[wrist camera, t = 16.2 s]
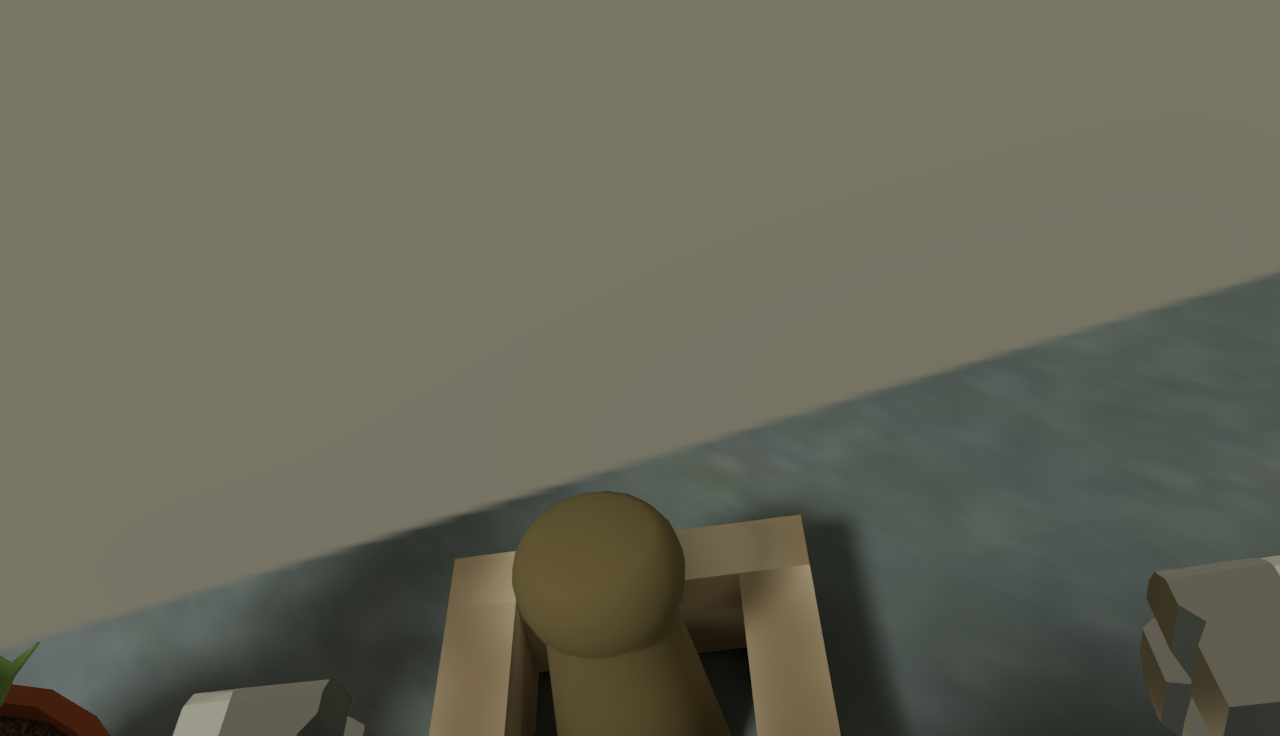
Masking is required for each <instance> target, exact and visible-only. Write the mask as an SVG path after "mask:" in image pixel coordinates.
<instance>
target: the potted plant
mask: <svg viewBox="0 0 1280 736" xmlns="http://www.w3.org/2000/svg"><path fill="white" fill-rule="evenodd" d="M39 643H40V642H37V643H36V644H35V645H33V646H32V647H31V648H29V649H28V650H27V651H26V652H24V653H23V654H22V655H20V656H19V657H18V658H17V659H15V660H14V661H13V662H10V661H8V660H6V659H5V658H3V657H1V656H0V736H110V735H109V733H108V732H107V730H106V729H105V727H104V726H103V724H102V723H101V722H100V720H99V719H98V717H97V716H95V715H93V714H92V713H90V712H88V711H87V710H85V709H83V708H82V707H80V706H78V705H77V704H75V703H73V702H72V701H70V700H68V699H67V698H65V697H63V696H62V695H60V694H59V693H57V692H55V691H54V690H51V689H43V688H36V687H28V686H20V685H12V682H13V680H14V678H15V676H16V674H17V673H18V672H19V670H20V669H21V668H22V666H23V665H24V664H25V662H26V661H27V659H28V658H29V657H30V655H31V654H32V653H33V651H34V650H35V649H36V647H37V646H38V645H39Z"/></svg>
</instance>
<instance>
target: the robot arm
mask: <svg viewBox="0 0 1280 736" xmlns="http://www.w3.org/2000/svg"><path fill="white" fill-rule="evenodd" d="M1146 598H1147V601H1148V603H1149V605H1150V607H1151V609H1152V612H1153V614H1154V616H1155V617H1154V618H1153V619H1152V620H1151V621H1150V622H1149V623H1148V624H1147V625H1146V626H1145V627H1144V628H1143V629H1142V642H1141V657H1142V665H1143V672H1144V679H1145V682H1146V685H1147V689H1148V692H1149V695H1150V699H1151V701H1152V704H1153V706H1154V709H1155V711H1156V713H1157V716H1158V718H1159V721H1160V723H1161V724H1162V725H1164V726H1165V727H1167V728H1168V729H1169V730H1171V731H1172V732H1174V733H1175V734H1176V735H1178V736H1280V555H1279V556H1271V557H1263V558H1261V559H1258V558H1248V559H1241V560H1234V561H1227V562H1220V563H1213V564H1206V565H1199V566H1192V567H1185V568H1178V569H1171V570H1164V571H1156V572H1154V573H1153V575H1152V576H1151V578H1150V579H1149V583H1148V590H1147V597H1146ZM350 702H351V697H350V696H349V694H348V692H347V690H346V689H345V687H344V685H343V684H342V682H341V680H340V679H327V680H317V681H307V682H297V683H287V684H277V685H268V686H258V687H248V688H240V689H231V690H222V691H214V692H205V693H196V694H193V696H192V697H191V698H190V699H189V700H188V702H187V703H186V704H185V705H184V707H183V708H182V710H181V713H180V716H179V719H178V721H177V724H176V727H175V730H174V733H173V736H370V734H369V732H368V730H367V728H366V726H365V725H364V724H362V723H360V722H358V721H357V720H355V719H353V718H351V717H349V716H348V712H349V707H350Z"/></svg>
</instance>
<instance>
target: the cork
mask: <svg viewBox="0 0 1280 736" xmlns="http://www.w3.org/2000/svg"><path fill="white" fill-rule="evenodd" d="M512 586H513V590H514V594H515V598H516V602H517V605H518V608H519V611H520V613H521V616H522V617H523V619H524V620H525V621H526V622H527V624H528V625H529V626H530V627H531V629H532V630H533V631H534V632H535V633H536V635H537V636H538V637H539V638H540V640H541V641H542V642H543V643H544V644H546V645H547V653H548V662H549V670H550V678H551V686H552V695H553V703H554V711H555V719H556V728H557V736H732V735H731V732H730V730H729V728H728V725H727V723H726V720H725V718H724V715H723V713H722V710H721V708H720V706H719V703H718V701H717V699H716V696H715V694H714V691H713V689H712V687H711V684H710V682H709V679H708V677H707V675H706V672H705V670H704V667H703V665H702V663H701V660H700V658H699V655H698V653H697V651H696V648H695V646H694V644H693V641H692V639H691V636H690V634H689V632H688V629H687V627H686V624H685V622H684V620H683V617H682V615H681V612H680V610H679V605H680V603H681V601H682V598H683V593H684V587H685V559H684V553H683V549H682V547H681V544H680V542H679V540H678V537H677V535H676V533H675V531H674V529H673V528H672V526H671V524H670V522H669V521H668V520H667V519H666V518H665V517H664V516H663V515H662V514H661V513H660V512H658V511H657V510H656V509H655V508H654V507H653V506H651V505H650V504H648V503H647V502H645V501H643V500H640V499H638V498H636V497H634V496H631V495H629V494H624V493H617V492H610V491H604V492H592V493H584V494H581V495H578V496H575V497H571V498H568V499H565V500H563V501H561V502H559V503H558V504H556V505H554V506H552V507H550V508H549V509H547V510H545V511H544V512H543V513H542V514H541V515H540V516H539V517H538V518H537V519H536V520H534V521H533V522H532V523H531V524H530V526H529V527H528V529H527V531H526V533H525V534H524V536H523V538H522V539H521V541H520V543H519V545H518V547H517V549H516V551H515V557H514V562H513V568H512Z"/></svg>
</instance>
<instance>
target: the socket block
mask: <svg viewBox="0 0 1280 736" xmlns="http://www.w3.org/2000/svg"><path fill="white" fill-rule="evenodd" d="M675 533H676V535H677V537H678V540H679V542H680V544H681V547H682V549H683V553H684V559H685V587H684V593H683V598H682V601H681V603H680V605H679V610H680V612H681V615H682V617H683V620H684V622H685V624H686V627H687V629H688V632H689V634H690V636H691V639H692V641H693V644H694V646H695V648H696V651H697V653H706V652H715V651H723V650H731V649H740V648H747V650H748V659H749V667H750V676H751V685H752V693H753V702H754V711H755V719H756V728H757V736H841V734H840V728H839V723H838V717H837V712H836V706H835V701H834V695H833V690H832V684H831V679H830V673H829V668H828V662H827V657H826V651H825V646H824V640H823V635H822V629H821V624H820V618H819V613H818V607H817V602H816V596H815V591H814V585H813V580H812V574H811V569H810V563H809V558H808V552H807V547H806V541H805V536H804V530H803V525H802V519H801V515H793V516H785V517H777V518H770V519H762V520H754V521H746V522H738V523H731V524H723V525H715V526H707V527H699V528H691V529H684V530H676V531H675ZM514 557H515V551H512V552H504V553H496V554H488V555H480V556H473V557H465V558H457V559H455V562H454V569H453V575H452V582H451V589H450V596H449V603H448V610H447V616H446V623H445V630H444V637H443V644H442V651H441V658H440V664H439V671H438V678H437V685H436V692H435V699H434V705H433V712H432V719H431V726H430V733H429V736H535V732H536V715H537V699H538V683H539V672H547V671H550V670H549V662H548V653H547V645H546V644H544V643H543V642H542V641H541V640H540V638H539V637H538V636H537V635H536V633H535V632H534V631H533V630H532V629H531V627H530V626H529V625H528V624H527V622H526V621H525V620H524V619H523V617H522V616H521V613H520V611H519V608H518V605H517V602H516V598H515V594H514V590H513V586H512V568H513V562H514Z"/></svg>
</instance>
